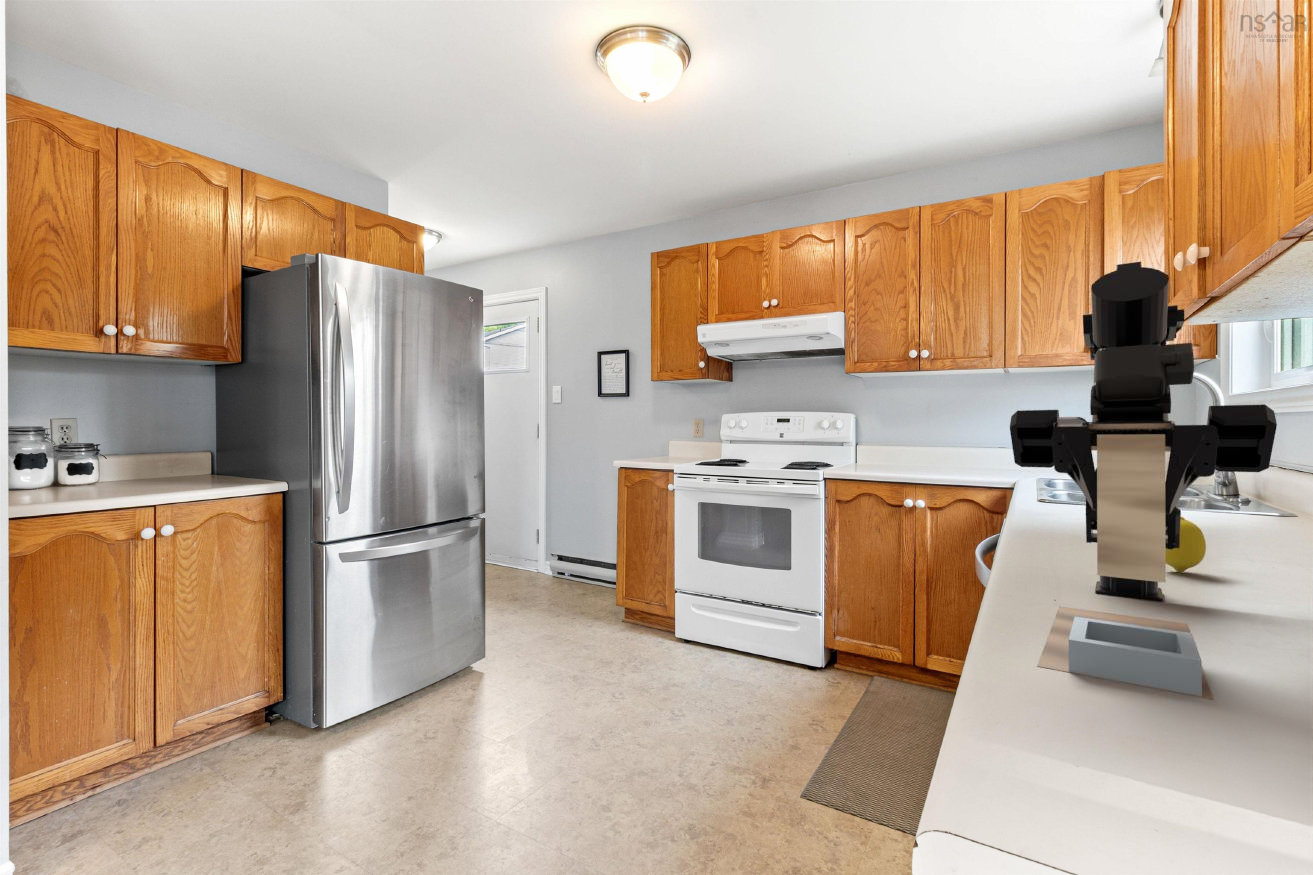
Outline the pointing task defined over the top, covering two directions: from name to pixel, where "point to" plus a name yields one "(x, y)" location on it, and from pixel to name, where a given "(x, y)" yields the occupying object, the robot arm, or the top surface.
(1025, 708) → the top surface
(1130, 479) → the beech pillar
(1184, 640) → the slate socket block
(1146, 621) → the tan flat plate
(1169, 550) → the lemon
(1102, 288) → the robot arm
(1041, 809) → the top surface
